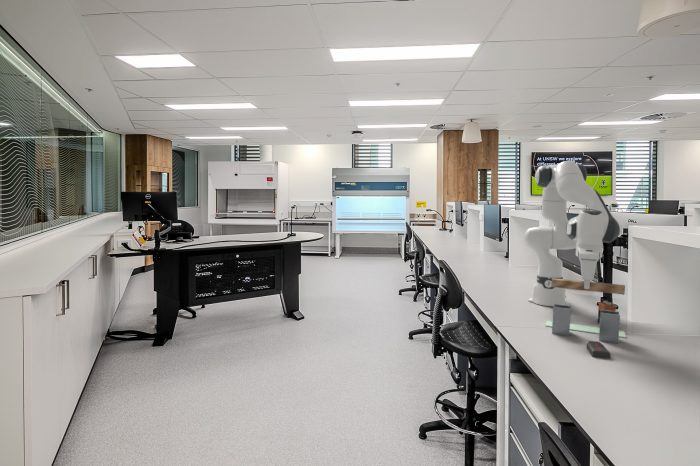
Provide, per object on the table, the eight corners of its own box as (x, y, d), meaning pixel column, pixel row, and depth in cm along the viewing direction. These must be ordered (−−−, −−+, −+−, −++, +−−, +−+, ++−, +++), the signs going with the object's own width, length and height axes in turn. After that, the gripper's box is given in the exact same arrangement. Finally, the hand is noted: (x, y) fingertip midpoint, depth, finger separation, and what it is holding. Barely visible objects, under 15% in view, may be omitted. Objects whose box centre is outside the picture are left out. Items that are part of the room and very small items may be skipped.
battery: (603, 326, 173) (604, 303, 172) (597, 322, 180) (598, 299, 179) (614, 327, 172) (616, 304, 171) (608, 323, 179) (609, 300, 178)
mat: (547, 321, 180) (547, 320, 180) (624, 332, 166) (624, 331, 166) (545, 326, 173) (545, 325, 173) (625, 337, 159) (625, 336, 159)
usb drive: (592, 357, 139) (592, 349, 139) (584, 346, 151) (584, 338, 150) (610, 359, 138) (610, 351, 137) (600, 347, 149) (600, 340, 149)
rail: (551, 287, 164) (551, 279, 164) (551, 285, 167) (552, 277, 167) (624, 294, 152) (625, 286, 152) (623, 293, 155) (624, 284, 155)
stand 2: (598, 336, 161) (600, 309, 160) (617, 338, 158) (618, 311, 157) (599, 340, 156) (600, 313, 155) (618, 343, 153) (619, 315, 152)
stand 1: (552, 329, 169) (554, 303, 168) (569, 331, 166) (571, 305, 165) (551, 333, 164) (553, 307, 163) (569, 335, 161) (570, 309, 160)
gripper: (579, 248, 169) (577, 281, 170) (579, 254, 151) (576, 291, 152) (597, 249, 166) (595, 283, 167) (599, 256, 148) (596, 294, 149)
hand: (586, 287), depth 160 cm, fingers closed on rail, 3 cm apart
